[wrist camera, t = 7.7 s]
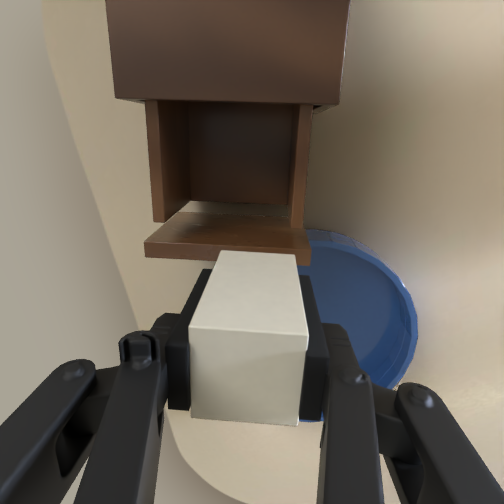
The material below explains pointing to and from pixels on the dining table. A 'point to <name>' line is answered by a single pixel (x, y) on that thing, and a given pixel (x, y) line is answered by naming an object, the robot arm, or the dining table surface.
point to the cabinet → (229, 50)
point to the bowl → (363, 304)
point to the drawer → (227, 177)
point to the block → (249, 341)
